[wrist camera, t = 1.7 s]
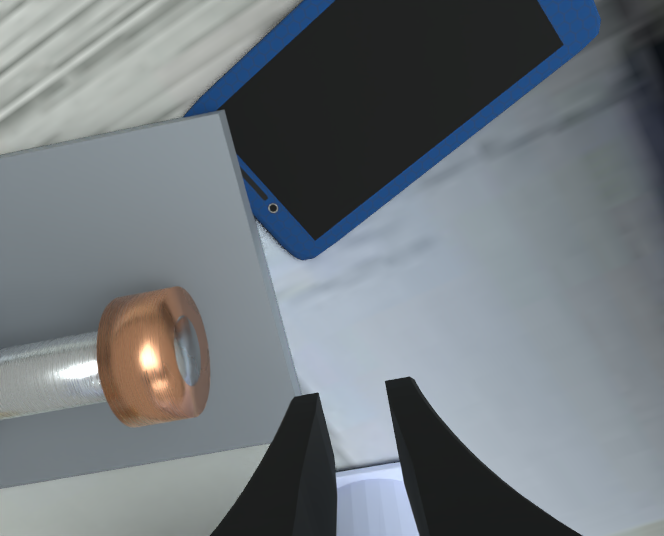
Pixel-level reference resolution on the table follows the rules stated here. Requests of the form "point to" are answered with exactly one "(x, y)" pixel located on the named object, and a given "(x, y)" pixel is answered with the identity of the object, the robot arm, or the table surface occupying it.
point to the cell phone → (378, 99)
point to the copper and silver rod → (117, 364)
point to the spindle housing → (139, 287)
